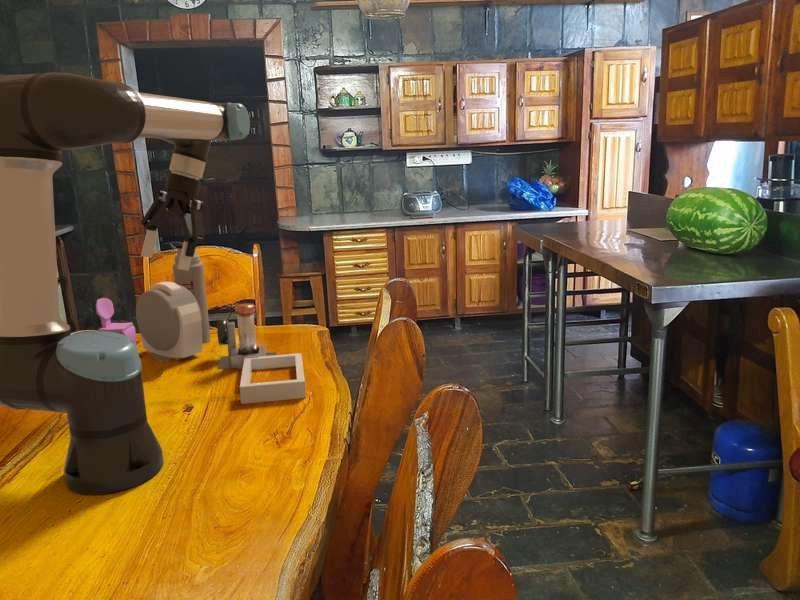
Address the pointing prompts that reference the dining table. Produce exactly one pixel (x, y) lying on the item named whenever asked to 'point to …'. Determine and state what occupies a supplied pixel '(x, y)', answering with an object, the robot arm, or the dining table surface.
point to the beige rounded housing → (169, 322)
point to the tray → (275, 388)
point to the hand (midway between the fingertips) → (164, 263)
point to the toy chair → (105, 312)
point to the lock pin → (246, 328)
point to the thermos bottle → (194, 287)
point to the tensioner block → (234, 347)
